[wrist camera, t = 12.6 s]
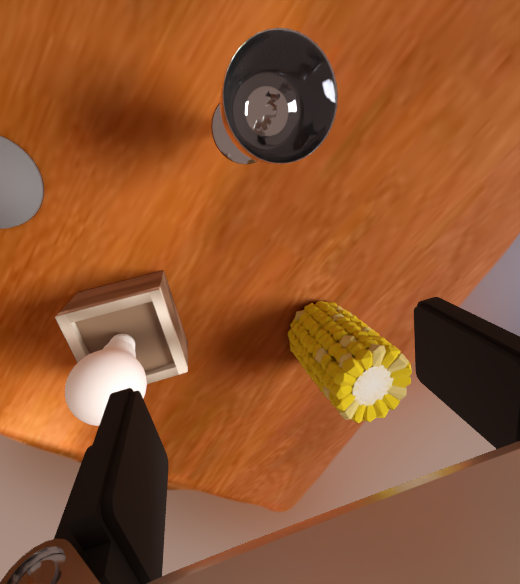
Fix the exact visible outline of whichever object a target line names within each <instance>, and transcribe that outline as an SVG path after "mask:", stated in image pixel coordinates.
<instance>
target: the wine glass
mask: <svg viewBox="0 0 520 584" xmlns="http://www.w3.org/2000/svg"><path fill="white" fill-rule="evenodd" d="M337 98H338V94H337V84H336V79H335V75H334V72H333V69H332V67H331V64H330V62H329V60H328V59H327V57H326V55H325V54H324V52H323V51H322V50H321V49H320V47H319V46H318V45H317V44H316V43H315V42H314V41H312V40H311V39H310V38H309V37H307V36H305V35H304V34H302V33H300V32H298V31H294V30H291V29H285V28H274V29H268V30H265V31H262V32H260V33H257V34H255V35H254V36H252V37H251V38H249V39H248V40H247V41H246V42H245V43H244V44H243V45H242V46H241V47H240V48H239V49H238V51H237V52H236V53H235V55H234V56H233V58H232V60H231V62H230V64H229V66H228V68H227V71H226V73H225V76H224V80H223V84H222V88H221V96H220V104H219V105H218V107H217V108H216V110H215V113H214V116H213V121H212V132H213V137H214V140H215V143H216V145H217V147H218V148H219V150H220V151H221V152H222V154H223V155H225V156H226V157H227V158H228V159H230V160H231V161H233V162H236V163H240V164H251V163H255V162H261V163H267V164H286V163H291V162H295V161H298V160H300V159H302V158H305V157H306V156H308V155H309V154H311V153H312V152H314V151H315V150H316V149H317V148H318V147H319V146H320V145H321V143H322V142H323V141H324V140H325V138H326V137H327V135H328V133H329V131H330V129H331V127H332V124H333V122H334V119H335V115H336V110H337Z"/></svg>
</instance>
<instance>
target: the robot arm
mask: <svg viewBox="0 0 520 584" xmlns="http://www.w3.org/2000/svg"><path fill="white" fill-rule="evenodd" d="M414 330H415V363H416V374H417V377H418V379H419V380H420V382H421V383H422V384H424V385H425V386H426V387H427V388H428V389H429V390H430V391H432V392H433V393H434V394H435V395H436V396H437V397H438V398H439V399H441V400H442V401H443V402H444V403H445V404H446V405H447V406H449V407H450V408H451V409H452V410H453V411H454V412H455V413H456V414H458V415H459V416H460V417H461V418H462V419H463V420H464V421H466V422H467V423H468V424H469V425H470V426H471V427H472V428H474V429H475V430H476V431H477V432H478V433H479V434H481V436H483V437H484V438H485V439H486V440H487V441H489V443H491V444H492V445H493V446H494V447H495V448H496V450H494V451H491V452H488V453H485V454H482V455H480V456H477V457H474V458H471V459H469V460H466V461H463V462H460V463H458V464H455V465H452V466H450V467H447V468H444V469H441V470H439V471H436V472H433V473H431V474H428V475H425V476H423V477H420V478H417V479H414V480H412V481H409V482H406V483H404V484H401V485H398V486H395V487H393V488H390V489H388V490H385V491H382V492H379V493H377V494H374V495H371V496H369V497H366V498H364V499H361V500H358V501H355V502H353V503H350V504H347V505H345V506H342V507H339V508H337V509H334V510H331V511H329V512H326V513H323V514H321V515H318V516H315V517H313V518H310V519H307V520H305V521H302V522H300V523H297V524H294V525H292V526H289V527H286V528H284V529H281V530H279V531H276V532H273V533H271V534H268V535H265V536H263V537H260V538H257V539H255V540H252V541H249V542H247V543H244V544H242V545H239V546H236V547H234V548H231V549H229V550H226V551H224V552H221V553H219V554H216V555H214V556H211V557H209V558H206V559H204V560H201V561H199V562H196V563H194V564H191V565H189V566H186V567H184V568H181V569H179V570H176V571H174V572H171V573H169V574H167V575H165V576H162V565H163V548H164V547H163V546H164V531H165V514H166V497H167V481H168V458H167V454H166V452H165V449H164V447H163V444H162V442H161V440H160V437H159V435H158V433H157V430H156V428H155V426H154V423H153V421H152V419H151V416H150V414H149V412H148V409H147V407H146V405H145V402H144V400H143V397H142V395H141V393H140V392H139V391H138V390H137V391H133V390H132V388H127V389H124V390H121V391H117V392H114V393H111V394H110V396H109V399H108V402H107V405H106V408H105V411H104V414H103V416H102V419H101V422H100V425H99V428H98V431H97V434H96V437H95V440H94V442H93V445H92V446H90V447H89V448H88V449H87V450H86V452H85V455H84V458H83V460H82V463H81V466H80V469H79V472H78V474H77V477H76V480H75V482H74V485H73V488H72V491H71V493H70V496H69V499H68V502H67V504H66V507H65V510H64V513H63V516H62V518H61V521H60V524H59V527H58V529H57V532H56V535H55V538H54V539H53V540H49V541H46V542H44V543H42V544H40V545H38V546H36V547H34V548H33V549H31V550H30V551H29V552H28V553H26V554H25V555H24V556H22V557H21V558H20V559H19V560H18V561H17V562H16V563H15V564H14V565H13V566H12V567H11V568H10V570H9V571H8V572H7V574H6V575H5V576H4V578H3V579H2V580H1V582H0V584H520V337H519V336H517V335H515V334H513V333H511V332H509V331H507V330H505V329H503V328H501V327H499V326H496V325H495V324H492V323H490V322H488V321H486V320H484V319H482V318H480V317H478V316H476V315H474V314H472V313H470V312H468V311H466V310H464V309H461V308H459V307H457V306H455V305H453V304H451V303H449V302H447V301H445V300H443V299H441V298H438V297H433V298H430V299H426V300H423V301H420V302H419V303H418V305H417V307H416V308H415V309H414Z"/></svg>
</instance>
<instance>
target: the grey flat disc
mask: <svg viewBox="0 0 520 584" xmlns="http://www.w3.org/2000/svg"><path fill="white" fill-rule="evenodd" d="M43 197H44V184H43V180H42V176H41V174H40V171H39V169H38V167H37V165H36V164H35V162H34V161H33V160H32V158H31V157H30V156H29V155H28V154H27V153H26V152H25V151H24V150H23V149H22V148H21V147H19V146H18V145H17V144H15V143H14V142H12V141H11V140H9V139H7V138H5V137H2V136H0V228H10V227H14V226H18V225H21V224H23V223H25V222H27V221H28V220H30V219H31V218H32V217H33V216H34V215H35V214H36V213H37V212H38V210H39V208H40V207H41V204H42V202H43Z"/></svg>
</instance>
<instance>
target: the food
mask: <svg viewBox="0 0 520 584" xmlns="http://www.w3.org/2000/svg"><path fill="white" fill-rule="evenodd" d="M290 326H291V329H290V330H289V331H288V333H287V334H288V337H289V341H290V349H291V352H293V353H294V356H296V358H297V359H298V360H299V363H300V364H301V365H302V366H303V368H304V369H305V370H306V372H307V374H309V375H310V377H311V379H312V380H313V381H315V384H316V385H318V387H319V389H320V391H322V392H323V394H324V396H325V397H327V399H330V401H331V404H332V406H335V408H336V409H337V411H338V412H339V414H340V415H341V416H342V417H343V418H344V419H345V420H346V419H351V420H353V421H355V422H357V423H360V422H361V421H362V420H364V421H368V422H371V421H372V420H373V419H375V418H376V417H379V418H385V416H386V415H387V413H388V411H389V409H392V410H394V409H395V408H396V407H397V405H398V404H399V403H400V401H399V400H401V399H402V398H404V397H405V396H406V386H407V385H409V384H410V383H411V378H410V375H411V374H412V371H411V365H410V363H408V362H409V361H408V360H407V359H406V358H405V356H404V355H403V354H400V352H401V351H400V350H398V349H397V348H396V347H395V346H394V345H392V344H391V343H389V342H388V341H387V340H386V339H384V337H380V336H379V333H377V332H375V331H374V329H371V328H369V327H368V326H367V325H366V324H365V323H363V321H360V320H359V319H358V318H357V317H356V316H355V315H352V314H351V313H350V312H349V311H346V309H343V308H342V307H341V306H337V304H336V303H334V302H331V301H330V302H323V301H318V302H317V303H316V304H315V305H314V304H313V303H311V304H309V305H307V306H305V307H304V310H301V311H298V312H296V316H295V318H294V320H293V321H292V323H291V324H290Z"/></svg>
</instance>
